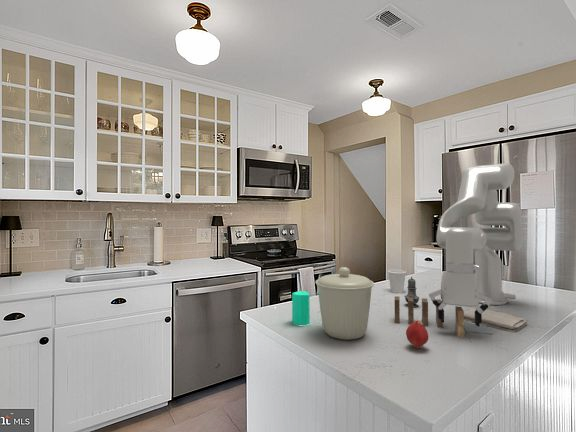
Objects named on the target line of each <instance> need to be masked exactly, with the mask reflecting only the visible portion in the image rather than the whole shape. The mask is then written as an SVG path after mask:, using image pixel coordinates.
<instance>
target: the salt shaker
mask: <svg viewBox="0 0 576 432" xmlns="http://www.w3.org/2000/svg"><path fill="white" fill-rule="evenodd" d="M416 282H417V281H416V280H415V279H414V278H413V276H411V277H410V278H409V279H408V280H407V294H406V295H404V296H403V297H404V300H405V302H406V303H405V304H404V306H405V307H406V308H408V297H411V298H413V303H414V308H416V309H417V308H419V305H418V303H419V301H420V296H417V292H416V291H417V286H416V285H417V284H416Z"/></svg>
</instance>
